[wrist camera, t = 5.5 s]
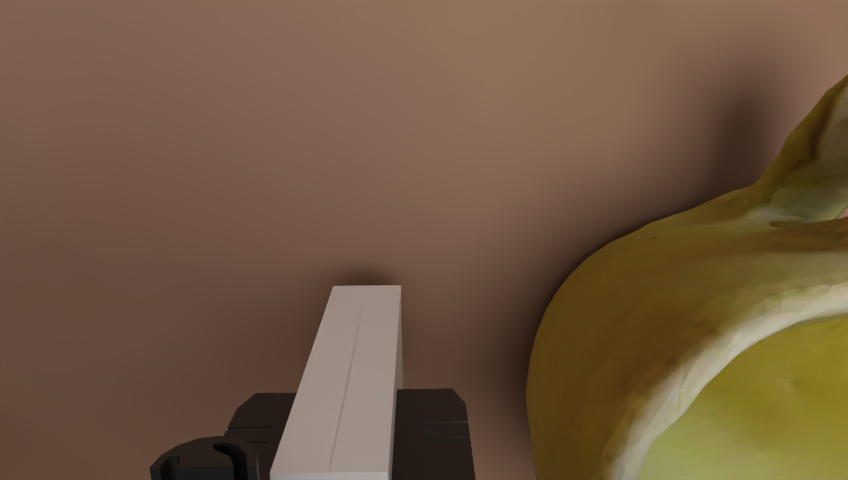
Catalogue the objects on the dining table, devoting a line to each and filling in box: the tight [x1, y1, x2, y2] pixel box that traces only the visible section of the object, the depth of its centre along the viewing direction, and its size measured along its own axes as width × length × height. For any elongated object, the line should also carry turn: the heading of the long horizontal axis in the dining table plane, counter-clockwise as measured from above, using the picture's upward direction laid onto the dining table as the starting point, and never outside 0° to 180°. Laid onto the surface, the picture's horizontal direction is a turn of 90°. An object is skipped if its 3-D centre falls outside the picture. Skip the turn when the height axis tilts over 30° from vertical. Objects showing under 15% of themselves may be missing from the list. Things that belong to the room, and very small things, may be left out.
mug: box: [526, 75, 848, 480], centre depth 13 cm, size 12×10×10 cm
